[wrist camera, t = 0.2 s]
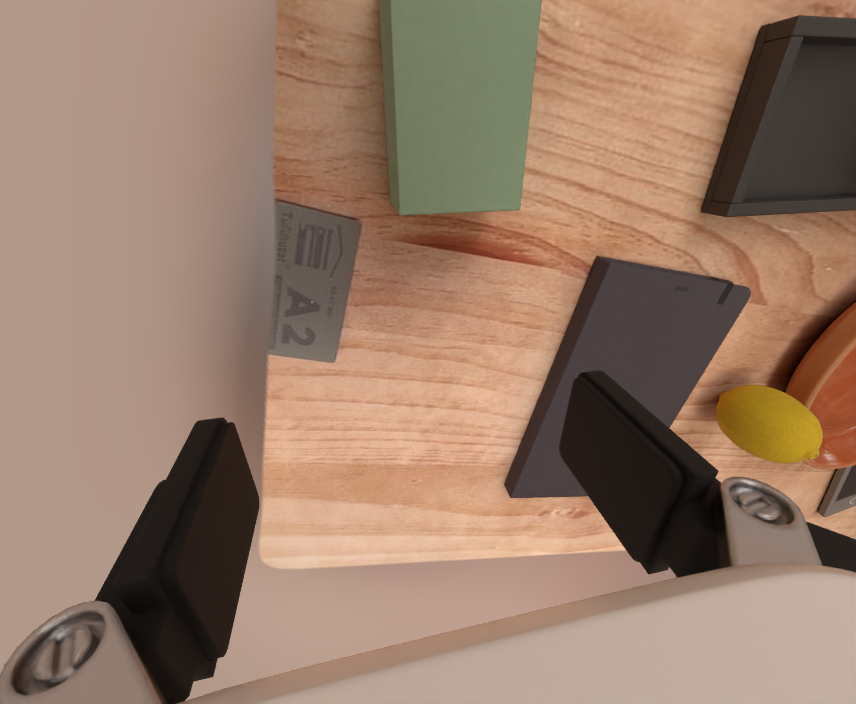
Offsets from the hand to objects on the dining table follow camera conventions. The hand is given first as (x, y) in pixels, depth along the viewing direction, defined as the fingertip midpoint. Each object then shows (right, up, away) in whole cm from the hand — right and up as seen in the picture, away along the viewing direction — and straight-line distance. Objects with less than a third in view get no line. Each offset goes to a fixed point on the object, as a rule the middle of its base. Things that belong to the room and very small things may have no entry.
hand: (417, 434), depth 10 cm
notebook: (+15, -1, +21) cm, 26 cm away
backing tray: (+29, +17, +14) cm, 36 cm away
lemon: (+27, -2, +24) cm, 36 cm away
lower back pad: (+1, +15, +9) cm, 17 cm away
